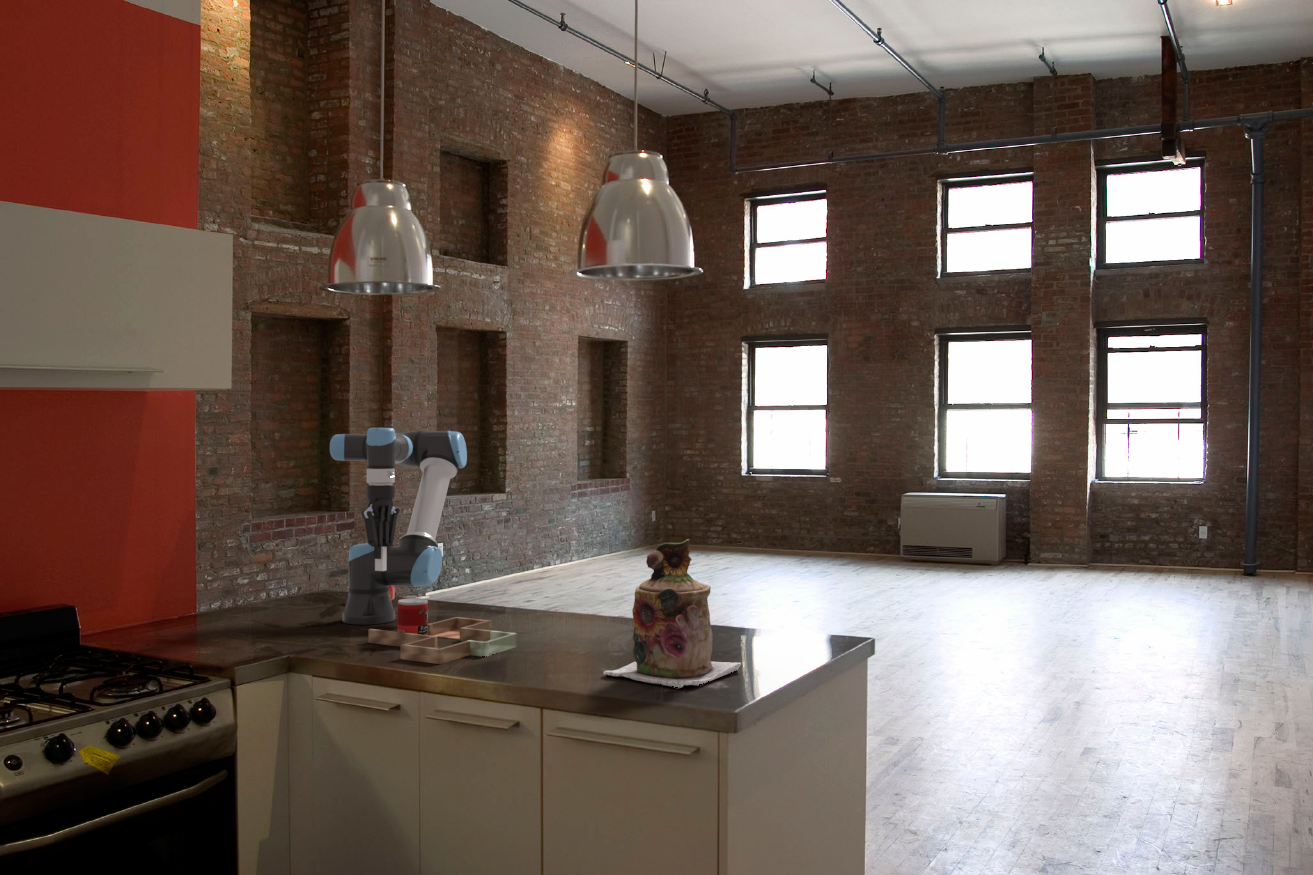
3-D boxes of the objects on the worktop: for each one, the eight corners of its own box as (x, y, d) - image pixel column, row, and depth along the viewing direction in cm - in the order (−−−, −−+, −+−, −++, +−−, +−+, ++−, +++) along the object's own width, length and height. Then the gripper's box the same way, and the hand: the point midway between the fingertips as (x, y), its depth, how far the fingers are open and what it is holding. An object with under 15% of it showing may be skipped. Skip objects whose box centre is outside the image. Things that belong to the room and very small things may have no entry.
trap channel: (336, 650, 284) (336, 637, 284) (431, 626, 318) (431, 614, 318) (456, 666, 267) (456, 651, 267) (542, 638, 301) (542, 625, 301)
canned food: (424, 644, 293) (424, 602, 293) (394, 643, 293) (394, 602, 293) (430, 638, 301) (430, 598, 300) (401, 638, 301) (401, 597, 301)
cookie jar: (659, 658, 277) (659, 531, 276) (744, 672, 263) (745, 537, 262) (599, 677, 256) (599, 539, 256) (688, 692, 242) (688, 547, 242)
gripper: (375, 485, 294) (375, 574, 294) (407, 483, 305) (407, 568, 306) (353, 484, 297) (353, 572, 297) (386, 482, 309) (386, 566, 309)
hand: (380, 570), depth 301 cm, fingers closed
